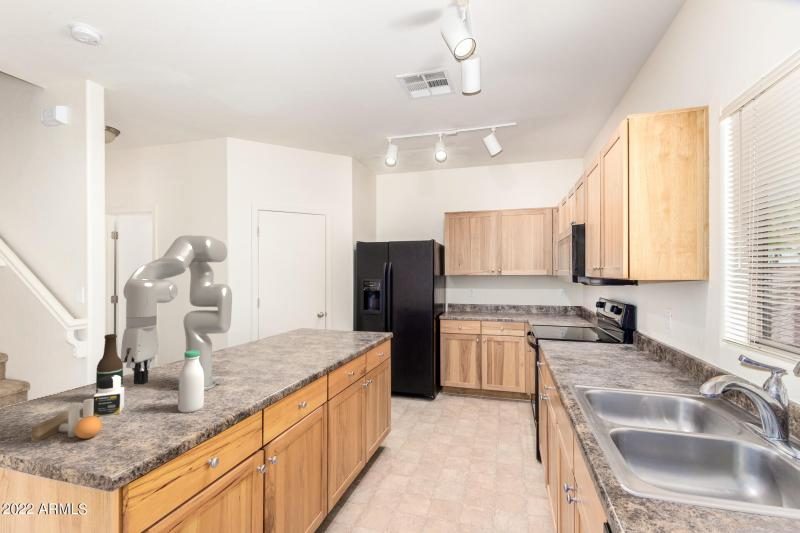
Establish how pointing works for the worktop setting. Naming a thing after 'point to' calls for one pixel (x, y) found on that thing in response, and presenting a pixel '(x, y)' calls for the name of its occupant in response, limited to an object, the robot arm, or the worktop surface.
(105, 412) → the medicine bottle
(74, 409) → the pin
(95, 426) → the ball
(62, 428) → the pin front
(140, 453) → the worktop surface
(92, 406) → the pin
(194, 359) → the milk bottle
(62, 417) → the bar
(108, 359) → the beer bottle
